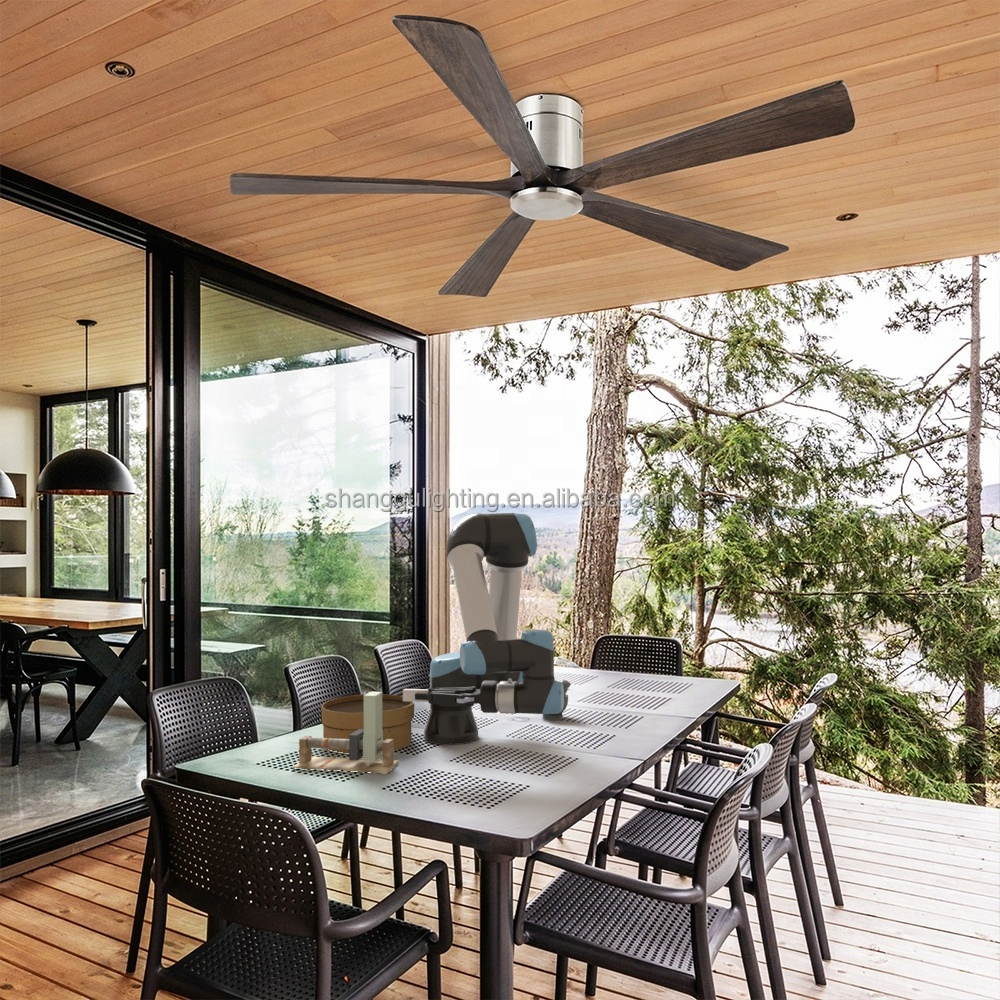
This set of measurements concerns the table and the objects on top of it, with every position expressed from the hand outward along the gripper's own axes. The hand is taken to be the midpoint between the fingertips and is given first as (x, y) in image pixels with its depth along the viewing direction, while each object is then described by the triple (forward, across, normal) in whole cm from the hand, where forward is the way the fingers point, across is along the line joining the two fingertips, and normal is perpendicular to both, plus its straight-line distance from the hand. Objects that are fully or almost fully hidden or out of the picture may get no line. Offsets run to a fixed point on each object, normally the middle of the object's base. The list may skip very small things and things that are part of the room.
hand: (403, 695), depth 194 cm
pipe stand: (+15, 0, +18) cm, 23 cm away
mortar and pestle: (-29, -60, +17) cm, 69 cm away
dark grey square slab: (+12, 0, +15) cm, 20 cm away
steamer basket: (+18, -23, +18) cm, 34 cm away
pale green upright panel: (+8, 0, +15) cm, 17 cm away
